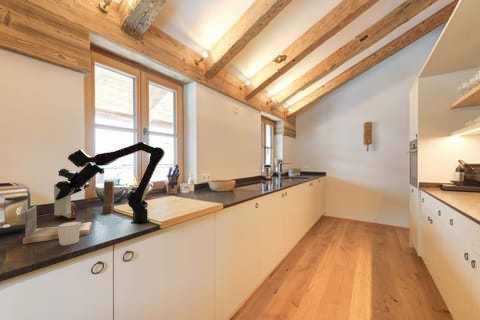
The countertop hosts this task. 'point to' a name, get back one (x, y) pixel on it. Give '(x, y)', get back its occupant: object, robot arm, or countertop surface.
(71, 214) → the tin
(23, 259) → the countertop surface
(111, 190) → the wooden block
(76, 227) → the white cup
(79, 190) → the robot arm
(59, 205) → the sage block
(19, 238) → the countertop surface
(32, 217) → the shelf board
